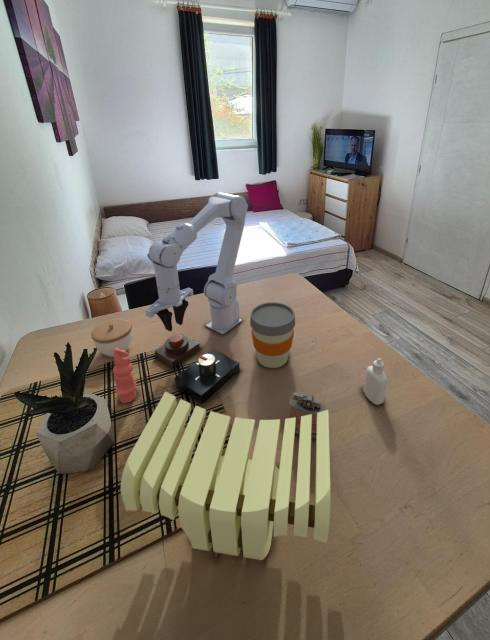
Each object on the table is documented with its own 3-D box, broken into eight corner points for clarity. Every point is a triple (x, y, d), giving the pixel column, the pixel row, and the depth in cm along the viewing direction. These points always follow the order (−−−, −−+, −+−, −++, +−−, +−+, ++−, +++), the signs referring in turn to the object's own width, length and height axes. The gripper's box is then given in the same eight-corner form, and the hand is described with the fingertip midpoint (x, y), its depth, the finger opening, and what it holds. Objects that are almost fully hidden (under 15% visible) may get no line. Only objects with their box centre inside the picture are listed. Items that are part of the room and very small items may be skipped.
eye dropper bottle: (379, 388, 84) (386, 351, 79) (384, 406, 79) (391, 368, 74) (362, 387, 84) (368, 350, 80) (365, 404, 79) (372, 366, 75)
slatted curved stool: (137, 548, 53) (116, 478, 46) (176, 455, 67) (165, 391, 60) (322, 581, 49) (331, 510, 42) (322, 475, 64) (328, 409, 57)
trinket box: (117, 365, 92) (111, 338, 88) (88, 357, 95) (80, 331, 91) (143, 342, 101) (138, 317, 97) (115, 335, 104) (109, 311, 100)
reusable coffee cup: (243, 365, 92) (241, 321, 86) (261, 339, 102) (261, 298, 96) (285, 377, 87) (286, 332, 81) (299, 349, 98) (301, 307, 92)
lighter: (325, 428, 73) (328, 395, 69) (322, 441, 70) (325, 407, 66) (290, 418, 76) (291, 385, 72) (286, 430, 73) (287, 397, 69)
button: (177, 337, 98) (176, 332, 97) (185, 342, 96) (184, 337, 95) (167, 343, 95) (166, 339, 94) (175, 348, 93) (174, 343, 92)
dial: (219, 367, 87) (218, 356, 85) (208, 378, 83) (207, 366, 82) (206, 362, 89) (205, 350, 87) (195, 372, 85) (194, 360, 84)
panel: (214, 356, 95) (213, 348, 94) (239, 371, 90) (239, 362, 88) (175, 386, 85) (174, 377, 83) (202, 405, 79) (201, 395, 78)
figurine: (143, 389, 84) (133, 342, 78) (133, 405, 79) (122, 356, 73) (124, 387, 84) (113, 340, 78) (113, 403, 80) (100, 355, 74)
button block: (182, 339, 103) (180, 328, 101) (199, 349, 98) (198, 338, 97) (155, 356, 95) (153, 345, 93) (173, 368, 91) (171, 356, 89)
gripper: (154, 300, 80) (161, 345, 85) (198, 278, 91) (202, 319, 96) (137, 292, 84) (145, 335, 89) (182, 272, 95) (186, 311, 100)
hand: (174, 326), depth 93 cm, fingers open, 3 cm apart
